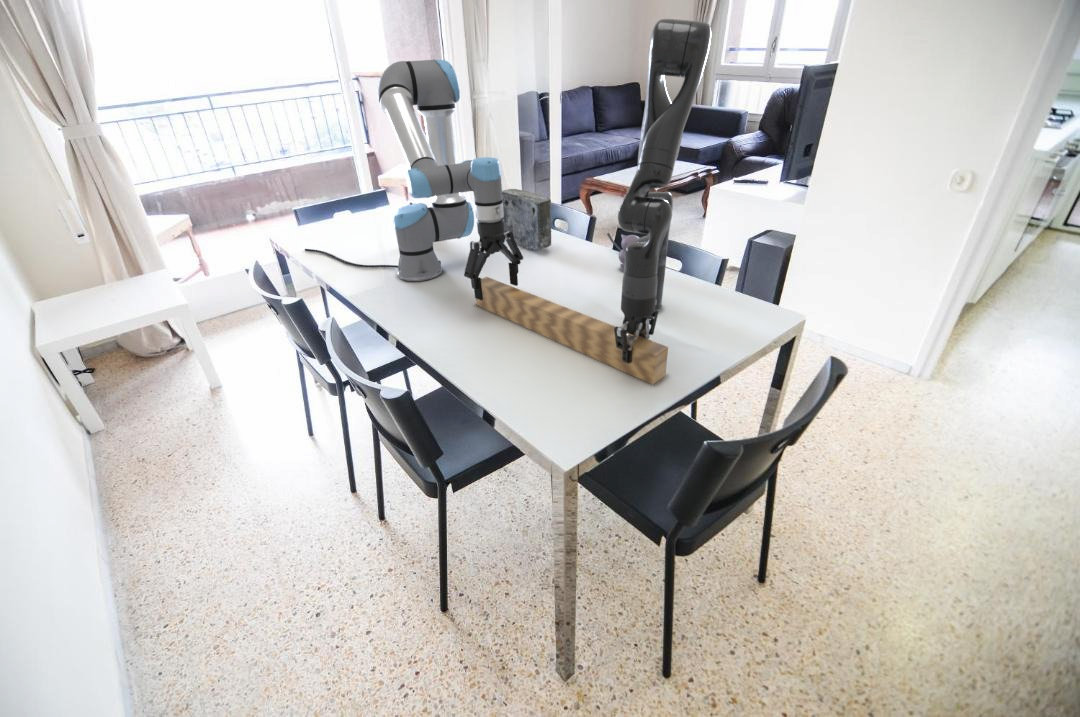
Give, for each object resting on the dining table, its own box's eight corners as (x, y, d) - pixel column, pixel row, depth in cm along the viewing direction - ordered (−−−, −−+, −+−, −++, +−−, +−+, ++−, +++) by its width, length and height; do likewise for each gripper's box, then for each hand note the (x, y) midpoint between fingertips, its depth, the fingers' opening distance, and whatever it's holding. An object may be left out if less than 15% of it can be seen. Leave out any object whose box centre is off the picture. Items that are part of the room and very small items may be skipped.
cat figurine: (646, 268, 173) (649, 234, 166) (634, 275, 168) (636, 240, 161) (626, 263, 178) (628, 230, 171) (613, 269, 173) (614, 236, 167)
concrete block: (556, 252, 190) (555, 199, 179) (537, 257, 186) (535, 203, 175) (517, 236, 209) (515, 187, 198) (500, 240, 204) (496, 190, 194)
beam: (476, 305, 152) (473, 281, 148) (488, 300, 155) (486, 276, 151) (653, 385, 113) (656, 355, 109) (665, 376, 116) (668, 347, 112)
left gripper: (462, 232, 125) (471, 308, 136) (532, 211, 140) (536, 282, 151) (444, 227, 130) (455, 301, 141) (514, 207, 145) (519, 276, 156)
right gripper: (633, 306, 102) (628, 375, 111) (672, 285, 110) (664, 351, 119) (604, 296, 106) (602, 363, 115) (643, 277, 115) (638, 341, 124)
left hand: (497, 291), depth 146 cm, fingers open, 13 cm apart
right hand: (634, 357), depth 117 cm, fingers closed on beam, 5 cm apart
